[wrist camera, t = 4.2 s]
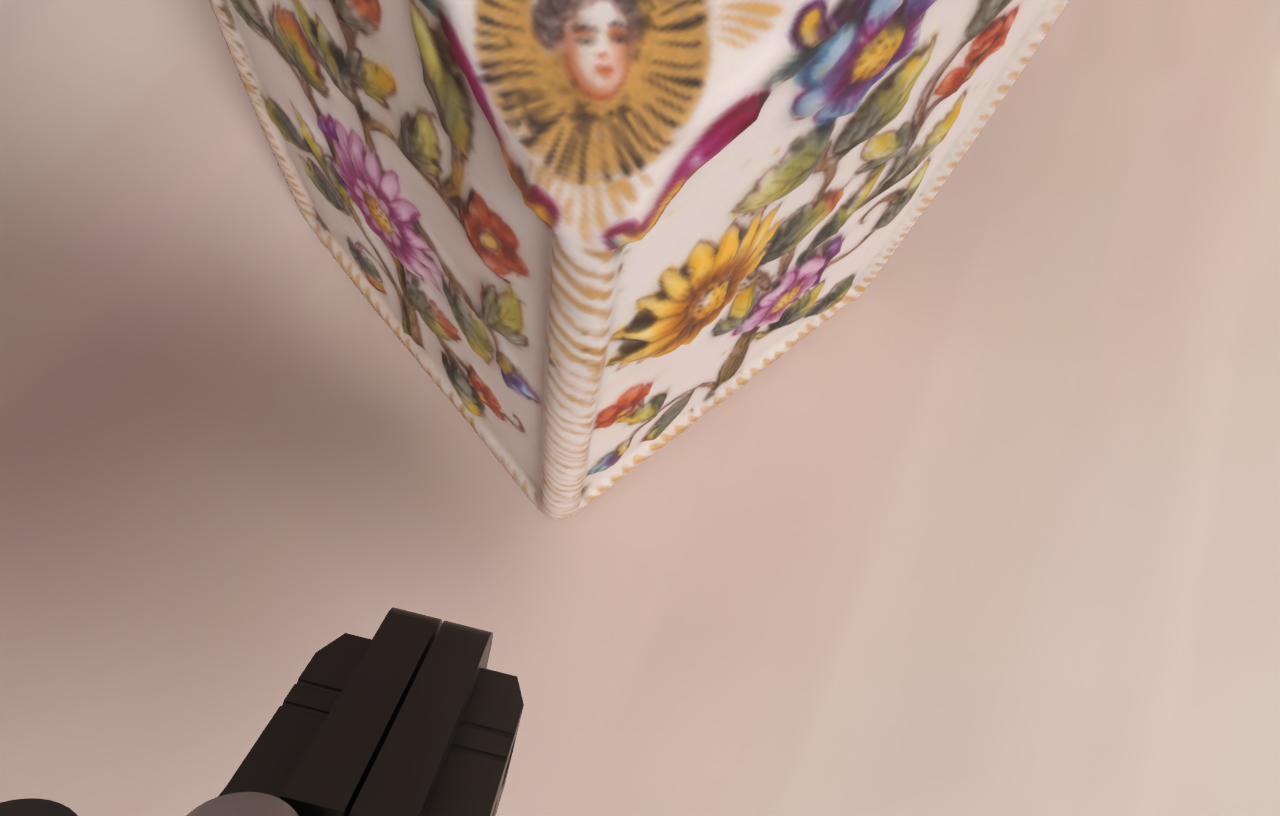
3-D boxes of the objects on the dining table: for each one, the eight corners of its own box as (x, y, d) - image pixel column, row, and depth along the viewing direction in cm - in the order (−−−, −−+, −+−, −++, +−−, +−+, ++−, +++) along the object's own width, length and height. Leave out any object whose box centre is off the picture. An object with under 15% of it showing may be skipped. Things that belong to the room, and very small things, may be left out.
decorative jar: (293, 217, 25) (-187, -874, 8) (616, 34, 29) (728, -978, 12) (559, 549, 22) (632, -77, 6) (878, 301, 26) (1483, -520, 9)
